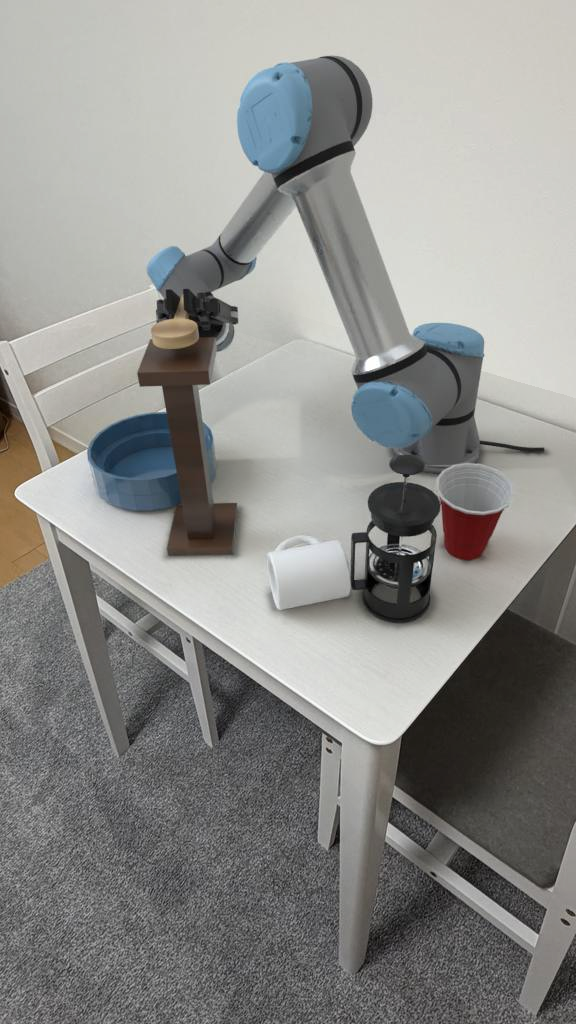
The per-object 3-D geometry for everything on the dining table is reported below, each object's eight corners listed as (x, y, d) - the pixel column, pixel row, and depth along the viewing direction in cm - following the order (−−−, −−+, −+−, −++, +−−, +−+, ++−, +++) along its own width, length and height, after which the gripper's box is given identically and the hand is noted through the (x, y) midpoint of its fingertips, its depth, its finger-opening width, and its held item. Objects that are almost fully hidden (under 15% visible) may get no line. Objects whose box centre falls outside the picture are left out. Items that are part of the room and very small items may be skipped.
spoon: (168, 301, 100) (166, 290, 99) (209, 299, 99) (207, 288, 98) (149, 350, 87) (147, 338, 86) (196, 348, 86) (194, 336, 85)
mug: (350, 608, 94) (352, 565, 90) (280, 622, 93) (277, 580, 88) (327, 552, 104) (327, 511, 99) (262, 564, 102) (259, 523, 97)
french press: (427, 572, 99) (443, 438, 85) (441, 620, 92) (462, 482, 78) (346, 577, 99) (349, 443, 85) (354, 626, 92) (359, 488, 78)
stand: (177, 511, 113) (147, 337, 94) (237, 509, 113) (219, 335, 94) (167, 556, 104) (132, 374, 85) (233, 554, 104) (211, 372, 85)
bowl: (221, 442, 129) (217, 410, 125) (210, 512, 112) (206, 478, 108) (110, 446, 130) (102, 413, 125) (83, 515, 113) (73, 481, 109)
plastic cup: (435, 575, 99) (443, 510, 91) (422, 527, 107) (429, 464, 100) (510, 572, 99) (525, 507, 91) (492, 524, 107) (504, 461, 100)
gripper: (248, 344, 115) (233, 326, 91) (161, 347, 115) (124, 330, 92) (246, 297, 113) (231, 268, 90) (159, 301, 114) (121, 272, 91)
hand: (177, 299), depth 91 cm, fingers closed on spoon, 2 cm apart
